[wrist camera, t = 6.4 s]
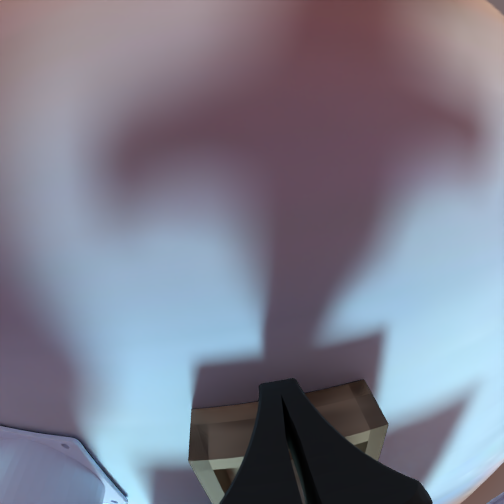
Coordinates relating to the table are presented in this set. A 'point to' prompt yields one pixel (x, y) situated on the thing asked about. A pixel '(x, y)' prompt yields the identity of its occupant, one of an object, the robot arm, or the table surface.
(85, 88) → the table surface
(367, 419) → the walnut tray
